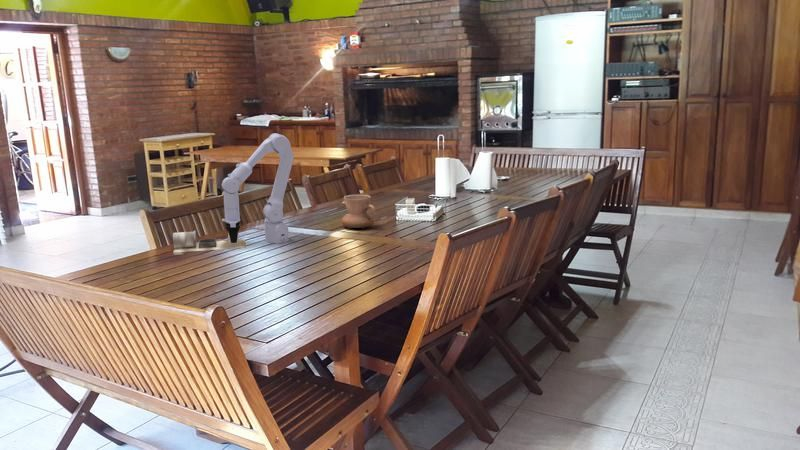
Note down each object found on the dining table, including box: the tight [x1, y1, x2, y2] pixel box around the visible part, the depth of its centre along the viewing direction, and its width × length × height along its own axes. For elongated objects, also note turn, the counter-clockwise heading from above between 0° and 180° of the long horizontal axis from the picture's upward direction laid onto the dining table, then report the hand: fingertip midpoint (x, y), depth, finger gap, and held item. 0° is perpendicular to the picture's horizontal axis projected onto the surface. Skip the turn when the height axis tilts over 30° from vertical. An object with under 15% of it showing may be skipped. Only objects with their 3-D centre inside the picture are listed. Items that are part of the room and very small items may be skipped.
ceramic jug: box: [341, 194, 376, 229], centre depth 285 cm, size 18×14×14 cm
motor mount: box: [172, 230, 247, 256], centre depth 251 cm, size 27×14×7 cm, turn 106°
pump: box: [227, 232, 240, 245], centre depth 253 cm, size 4×4×7 cm
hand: (233, 241), depth 253 cm, fingers closed on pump, 4 cm apart
